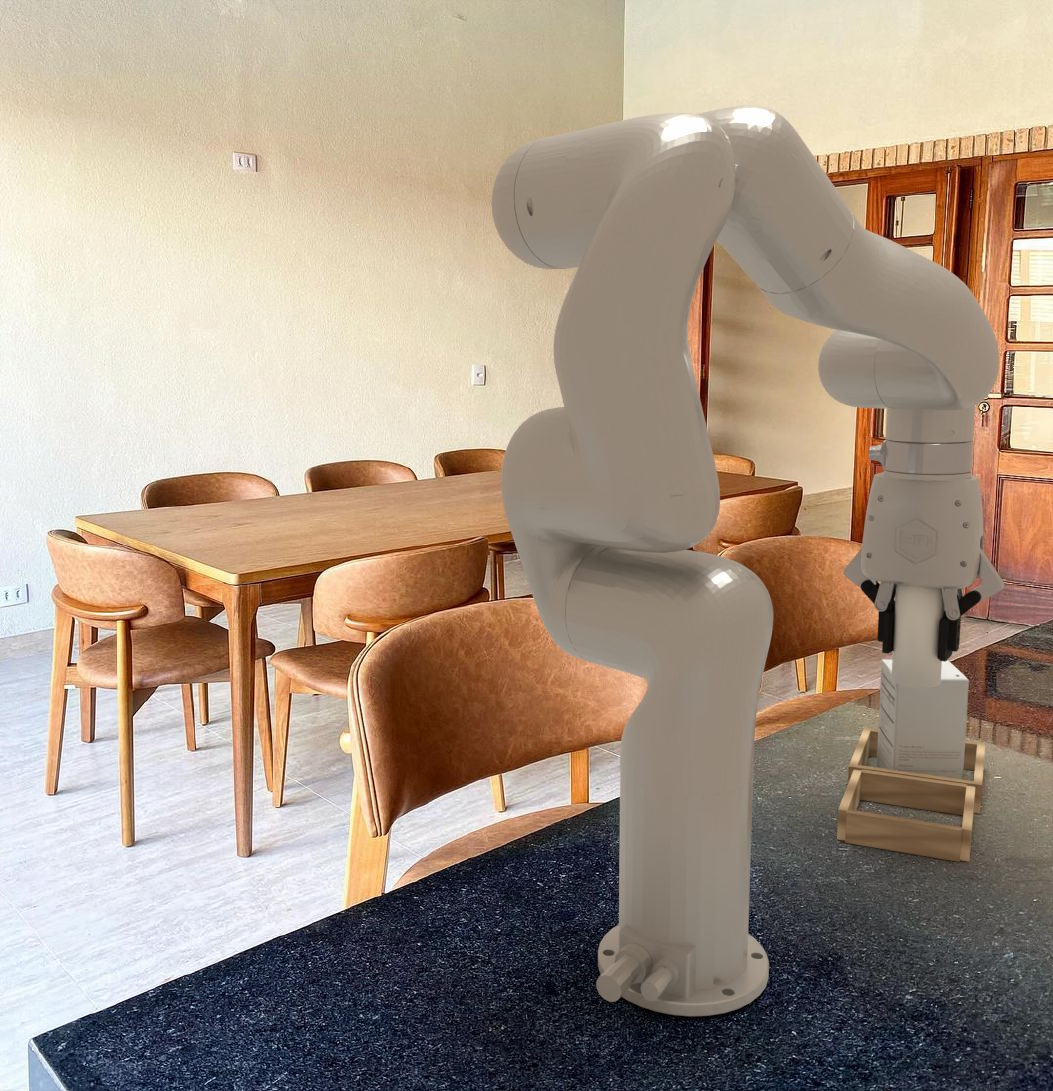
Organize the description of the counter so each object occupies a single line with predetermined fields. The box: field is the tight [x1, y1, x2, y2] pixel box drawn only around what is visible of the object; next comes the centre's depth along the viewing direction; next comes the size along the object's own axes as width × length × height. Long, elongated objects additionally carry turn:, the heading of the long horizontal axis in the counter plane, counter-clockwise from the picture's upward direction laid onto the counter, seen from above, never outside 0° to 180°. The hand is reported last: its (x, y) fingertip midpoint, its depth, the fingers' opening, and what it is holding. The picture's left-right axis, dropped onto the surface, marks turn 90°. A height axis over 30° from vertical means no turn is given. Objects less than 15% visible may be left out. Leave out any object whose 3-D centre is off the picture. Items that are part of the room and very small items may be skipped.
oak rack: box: [836, 727, 986, 863], centre depth 110 cm, size 25×13×3 cm, turn 156°
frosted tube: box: [891, 584, 945, 688], centre depth 101 cm, size 5×5×12 cm
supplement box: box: [876, 658, 970, 780], centre depth 115 cm, size 7×7×13 cm
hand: (917, 651), depth 102 cm, fingers closed on frosted tube, 4 cm apart
